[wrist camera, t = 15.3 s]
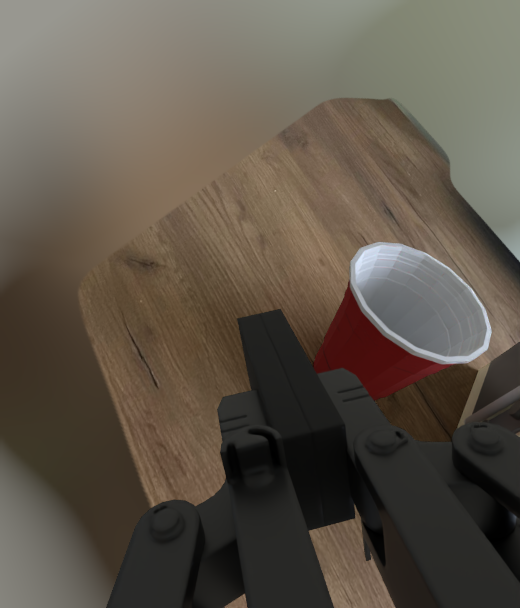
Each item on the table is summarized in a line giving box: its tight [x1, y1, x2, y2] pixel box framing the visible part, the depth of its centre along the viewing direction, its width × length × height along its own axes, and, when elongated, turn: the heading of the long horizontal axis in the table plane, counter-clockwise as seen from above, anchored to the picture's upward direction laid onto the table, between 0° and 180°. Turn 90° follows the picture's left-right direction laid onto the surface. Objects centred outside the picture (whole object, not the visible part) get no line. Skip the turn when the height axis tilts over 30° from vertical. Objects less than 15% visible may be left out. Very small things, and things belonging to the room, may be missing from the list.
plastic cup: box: [313, 242, 492, 401], centre depth 37 cm, size 11×11×12 cm
